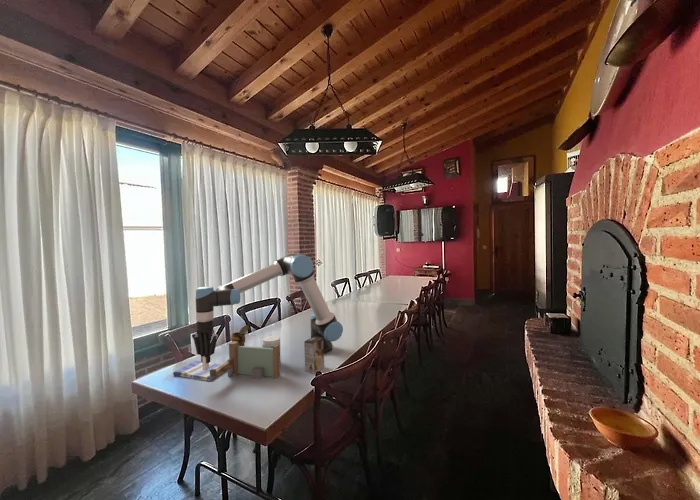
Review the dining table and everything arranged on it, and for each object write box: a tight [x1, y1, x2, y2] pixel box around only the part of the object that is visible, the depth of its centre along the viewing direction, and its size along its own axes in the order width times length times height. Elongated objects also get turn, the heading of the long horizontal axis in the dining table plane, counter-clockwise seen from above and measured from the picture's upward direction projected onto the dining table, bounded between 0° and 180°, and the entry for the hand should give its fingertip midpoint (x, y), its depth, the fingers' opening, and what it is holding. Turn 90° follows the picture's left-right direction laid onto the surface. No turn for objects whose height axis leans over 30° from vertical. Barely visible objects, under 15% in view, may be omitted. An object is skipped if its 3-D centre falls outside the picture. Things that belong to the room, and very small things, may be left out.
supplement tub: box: [261, 335, 281, 348], centre depth 166 cm, size 10×10×15 cm
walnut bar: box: [210, 358, 233, 381], centre depth 146 cm, size 16×3×4 cm, turn 169°
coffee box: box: [303, 336, 325, 374], centre depth 160 cm, size 9×6×16 cm
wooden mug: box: [230, 324, 250, 346], centre depth 184 cm, size 9×14×18 cm, turn 57°
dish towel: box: [172, 360, 223, 382], centre depth 159 cm, size 17×24×3 cm
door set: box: [227, 340, 281, 380], centre depth 153 cm, size 26×6×16 cm, turn 79°
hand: (205, 369), depth 144 cm, fingers closed
